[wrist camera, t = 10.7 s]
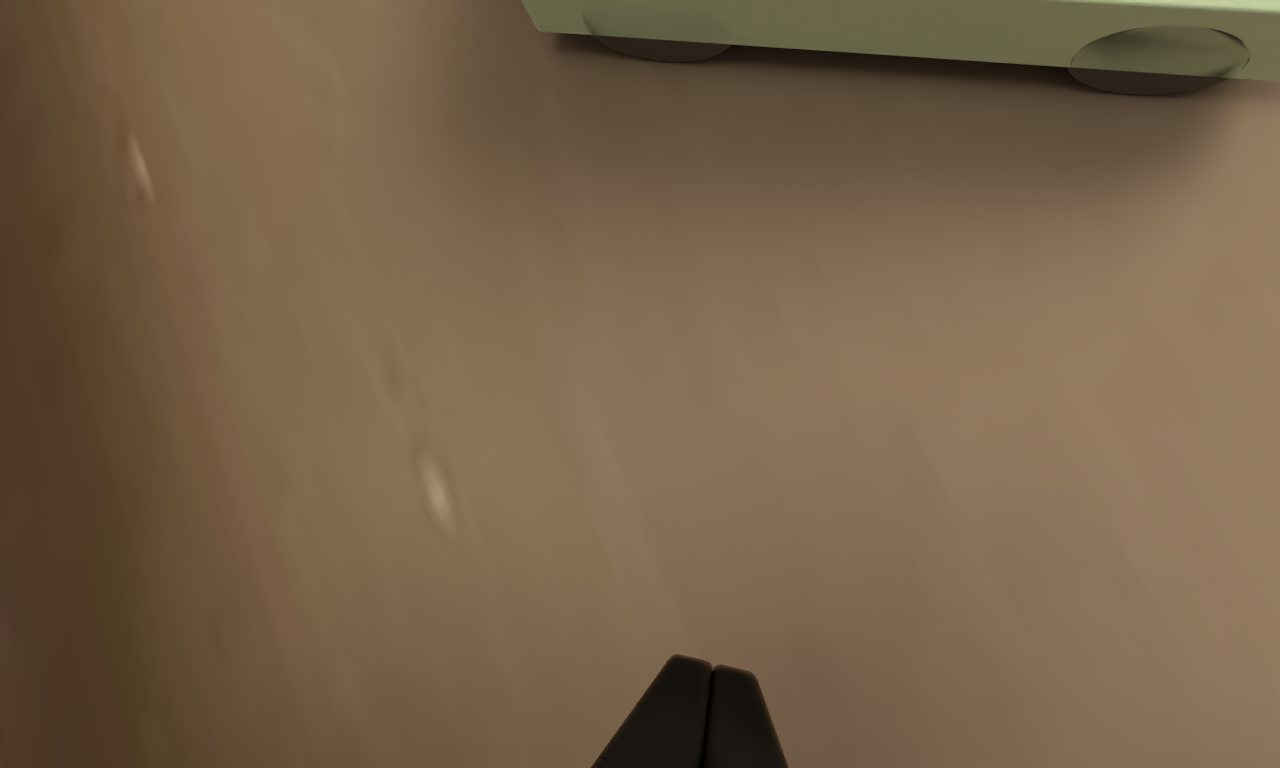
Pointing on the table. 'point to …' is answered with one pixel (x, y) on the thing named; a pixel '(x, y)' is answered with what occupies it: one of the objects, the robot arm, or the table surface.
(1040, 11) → the toy car
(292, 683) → the table surface
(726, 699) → the robot arm
